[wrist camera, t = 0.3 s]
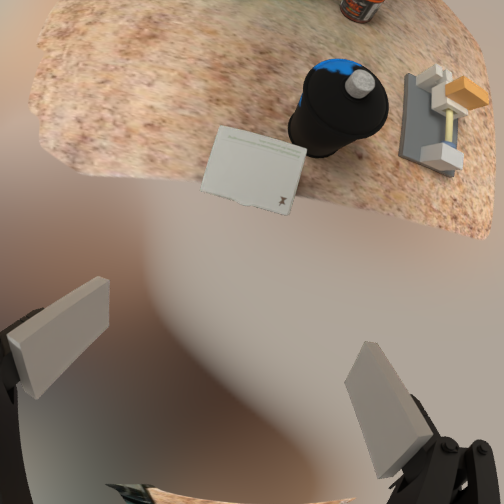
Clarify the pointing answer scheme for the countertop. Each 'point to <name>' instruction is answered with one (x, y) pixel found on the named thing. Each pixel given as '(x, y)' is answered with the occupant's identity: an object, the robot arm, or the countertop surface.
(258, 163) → the skincare box
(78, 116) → the countertop surface
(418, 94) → the cord board
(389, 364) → the robot arm
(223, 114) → the countertop surface
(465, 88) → the sleeve
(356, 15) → the supplement bottle
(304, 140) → the aerosol can
